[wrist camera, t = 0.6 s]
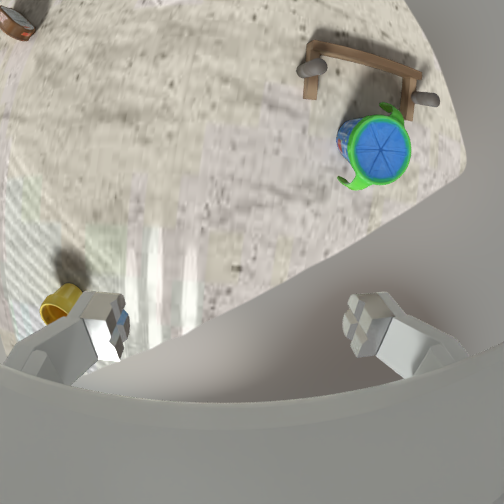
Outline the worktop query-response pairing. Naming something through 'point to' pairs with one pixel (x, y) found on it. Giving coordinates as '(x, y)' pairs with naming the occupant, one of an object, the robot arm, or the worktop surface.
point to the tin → (15, 24)
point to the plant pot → (59, 303)
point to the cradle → (410, 75)
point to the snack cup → (375, 148)
